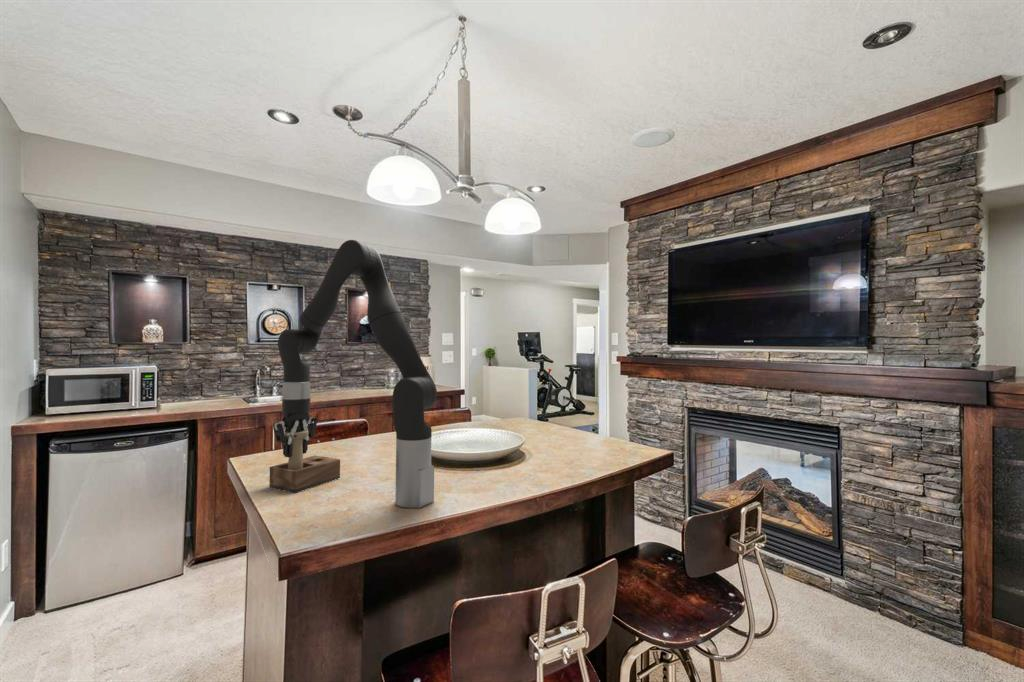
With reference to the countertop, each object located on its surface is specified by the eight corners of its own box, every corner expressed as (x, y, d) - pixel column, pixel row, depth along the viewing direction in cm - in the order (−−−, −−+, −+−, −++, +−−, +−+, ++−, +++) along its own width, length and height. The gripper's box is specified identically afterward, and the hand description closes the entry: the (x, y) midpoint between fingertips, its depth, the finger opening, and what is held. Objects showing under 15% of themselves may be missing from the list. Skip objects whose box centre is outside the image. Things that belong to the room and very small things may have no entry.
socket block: (339, 478, 141) (340, 459, 141) (295, 493, 126) (295, 471, 127) (314, 474, 146) (315, 455, 146) (269, 487, 131) (269, 466, 131)
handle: (306, 484, 131) (307, 433, 131) (281, 486, 129) (283, 433, 129) (307, 479, 136) (309, 429, 136) (284, 481, 134) (285, 430, 134)
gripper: (283, 400, 125) (282, 461, 125) (325, 395, 138) (324, 451, 138) (265, 398, 128) (264, 458, 128) (307, 394, 141) (307, 449, 141)
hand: (295, 454), depth 133 cm, fingers open, 4 cm apart
